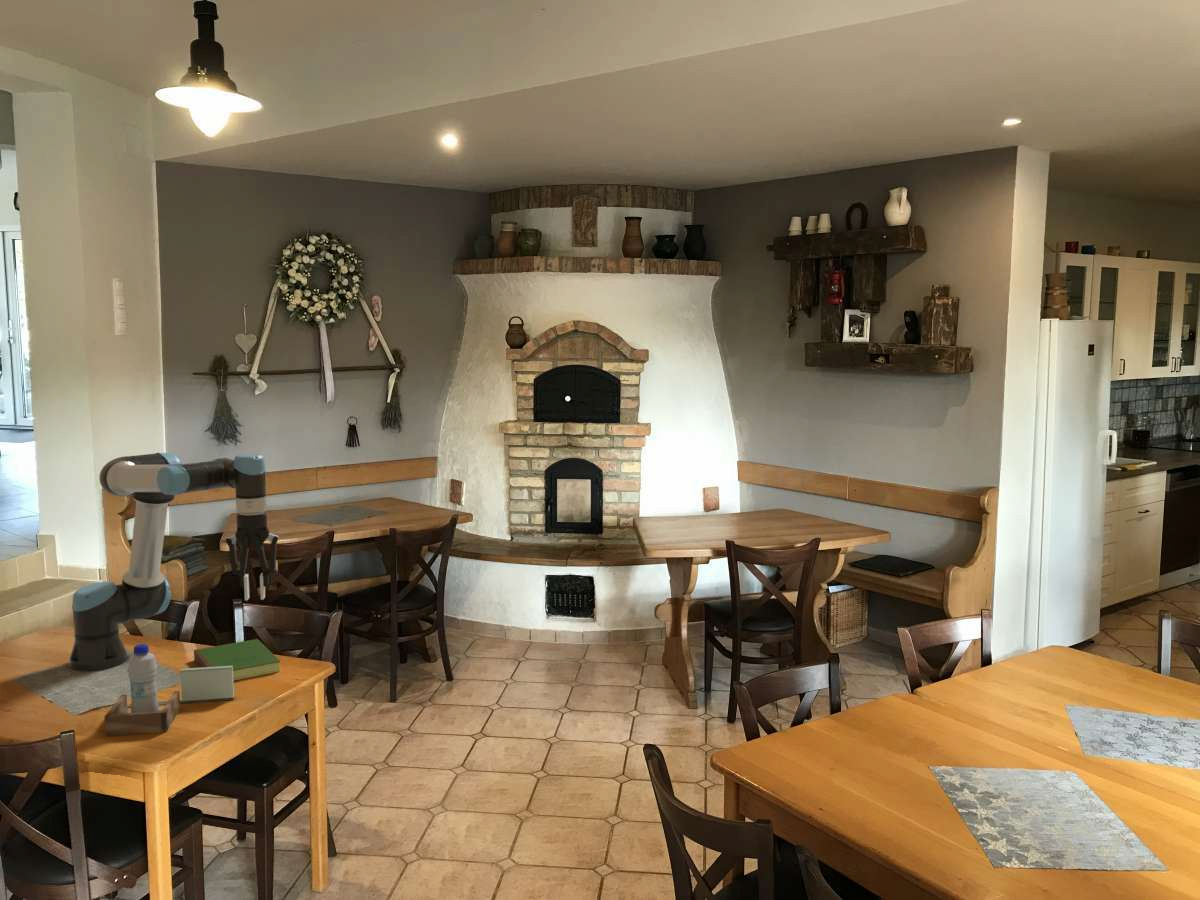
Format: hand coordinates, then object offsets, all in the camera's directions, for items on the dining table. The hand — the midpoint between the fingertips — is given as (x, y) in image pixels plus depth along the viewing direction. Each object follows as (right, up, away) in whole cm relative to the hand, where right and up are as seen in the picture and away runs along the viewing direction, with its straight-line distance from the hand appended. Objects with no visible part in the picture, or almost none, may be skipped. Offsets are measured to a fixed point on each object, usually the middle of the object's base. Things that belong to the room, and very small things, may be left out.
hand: (255, 598), depth 252 cm
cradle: (-18, -29, -9) cm, 35 cm away
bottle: (-24, -29, -12) cm, 39 cm away
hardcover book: (-15, -25, +27) cm, 40 cm away
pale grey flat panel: (-13, -28, +1) cm, 30 cm away
